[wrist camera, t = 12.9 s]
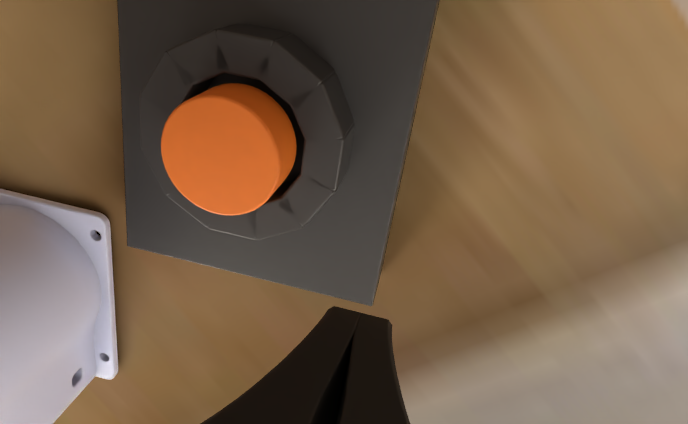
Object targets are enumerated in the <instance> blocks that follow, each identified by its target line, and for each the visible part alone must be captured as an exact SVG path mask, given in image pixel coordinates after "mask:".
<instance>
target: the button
mask: <svg viewBox="0 0 688 424" xmlns="http://www.w3.org/2000/svg"><path fill="white" fill-rule="evenodd" d="M296 147H297V146H296V137H295V132H294V129H293V126H292V123H291V121H290V119H289V117H288V116H287V114H286V113H285V111H284V110H283V108H282V107H281V106H280V105H279V104H278V103H277V102H276V101H275V100H274V99H273V98H272V97H271V96H269V95H268V94H267V93H265V92H263V91H261V90H260V89H258V88H255V87H253V86H250V85H246V84H240V83H226V84H221V85H218V86H215V87H213V88H211V89H209V90H206V91H204V92H202V93H200V94H198V95H196V96H194V97H192V98H190V99H188V100H186V101H184V102H183V103H181V104H180V105H179V106H178V107H176V108H175V109H174V110H173V112H172V113H171V114H170V116H169V117H168V119H167V121H166V123H165V126H164V128H163V132H162V137H161V154H162V159H163V163H164V166H165V169H166V171H167V173H168V176H169V177H170V179H171V181H172V183H173V184H174V185H175V187H176V188H177V189H178V190H179V191H180V192H181V194H182V195H183V196H185V197H186V198H187V199H188V200H189V201H191V202H192V203H193V204H195V205H196V206H198V207H200V208H202V209H204V210H206V211H209V212H212V213H215V214H220V215H231V216H232V215H241V214H246V213H249V212H251V211H254V210H256V209H257V208H259V207H260V206H262V205H263V204H264V203H265V202H266V201H267V200H268V199H269V198H270V197H271V196H272V195H273V193H274V192H275V191H276V190H277V189H278V187H279V186H280V185H281V184H282V183H283V181H284V180H285V179H286V178H287V176H288V175H289V173H290V171H291V169H292V167H293V165H294V162H295V157H296Z"/></svg>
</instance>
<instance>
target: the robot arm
mask: <svg viewBox="0 0 688 424" xmlns="http://www.w3.org/2000/svg"><path fill="white" fill-rule="evenodd" d="M96 231H97V232H99V233H100V235H101V236H99V235H98V234H97V233H96ZM106 354H107V355H106ZM117 373H118V353H117V335H116V318H115V300H114V282H113V265H112V247H111V229H110V222H109V220H108V218H107V217H106V216H105V215H104V214H102V213H100V212H96V211H92V210H88V209H83V208H79V207H75V206H71V205H67V204H63V203H58V202H54V201H50V200H46V199H42V198H38V197H33V196H29V195H25V194H21V193H17V192H13V191H8V190H4V189H0V424H53V423H54V422H55V421H56V420H57V419H58V417H59V416H60V415H61V414H62V413H63V412H64V411H65V410H66V408H67V407H68V406H69V405H70V404H71V403H72V402H73V401H74V399H75V398H76V397H77V396H78V395H79V394H80V393H81V392H82V391H83V389H84V388H85V387H86V386H87V385H88V384H89V383H90V382H91V380H92V379H93V378H94V377H95V376H97V377H101V378H104V379H113V378H114V377H115V376H116V374H117ZM201 424H410V422H409V419H408V416H407V412H406V409H405V405H404V402H403V398H402V394H401V390H400V385H399V381H398V377H397V372H396V367H395V361H394V355H393V347H392V324H391V323H390V322H389V320H387V319H383V318H379V317H375V316H371V315H367V314H363V313H359V312H355V311H351V310H347V309H343V308H339V307H335V306H334V307H332V308H330V309H328V311H327V312H326V314H325V315H324V316H323V318H322V319H321V320H320V321H319V323H318V324H317V325H316V326H315V327H314V328H313V330H312V331H311V332H310V333H309V334H308V335H307V336H306V337H305V338H304V340H303V341H302V342H301V343H300V344H299V345H298V346H297V347H296V348H295V349H294V350H293V351H292V352H291V353H290V354H289V355H288V356H287V357H286V358H285V359H284V360H282V361H281V362H280V363H279V364H278V365H277V366H276V367H275V368H274V369H272V370H271V371H270V372H269V373H268V374H267V375H265V376H264V377H263V378H262V379H261V380H260V381H259V382H257V383H256V384H255V385H254V386H253V387H251V388H250V389H249V390H248V391H246V392H245V393H244V394H242V395H241V396H240V397H239V398H237V399H236V400H235V401H233V402H232V403H230V404H229V405H228V406H226V407H225V408H223V409H222V410H221V411H219V412H218V413H216V414H215V415H213V416H212V417H210V418H208V419H207V420H205V421H204V422H202V423H201Z"/></svg>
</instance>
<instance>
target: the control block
mask: <svg viewBox="0 0 688 424" xmlns="http://www.w3.org/2000/svg"><path fill="white" fill-rule="evenodd" d="M117 2H118V26H119V51H120V76H121V100H122V125H123V149H124V174H125V198H126V223H127V245H128V246H129V247H133V248H137V249H141V250H146V251H150V252H154V253H158V254H162V255H166V256H170V257H174V258H178V259H182V260H186V261H190V262H194V263H198V264H202V265H207V266H211V267H215V268H219V269H223V270H227V271H231V272H235V273H239V274H243V275H247V276H251V277H255V278H259V279H263V280H267V281H272V282H276V283H280V284H284V285H288V286H292V287H296V288H300V289H304V290H308V291H312V292H316V293H320V294H324V295H328V296H332V297H337V298H341V299H345V300H349V301H353V302H357V303H361V304H365V305H369V306H372V305H373V302H374V298H375V294H376V290H377V287H378V283H379V279H380V275H381V270H382V266H383V261H384V257H385V252H386V247H387V243H388V238H389V233H390V229H391V224H392V219H393V215H394V210H395V205H396V201H397V196H398V191H399V187H400V182H401V177H402V173H403V168H404V163H405V159H406V154H407V149H408V145H409V140H410V135H411V131H412V126H413V121H414V117H415V112H416V107H417V103H418V98H419V93H420V89H421V84H422V80H423V75H424V70H425V66H426V61H427V56H428V52H429V47H430V42H431V38H432V33H433V28H434V24H435V19H436V14H437V10H438V5H439V0H117ZM226 83H240V84H246V85H250V86H253V87H255V88H258V89H260V90H261V91H263V92H265V93H267V94H268V95H269V96H271V97H272V98H273V99H274V100H275V101H276V102H277V103H278V104H279V105H280V106H281V107H282V108H283V110H284V111H285V113H286V114H287V116H288V117H289V119H290V121H291V123H292V126H293V129H294V132H295V137H296V146H297V147H296V157H295V162H294V165H293V167H292V169H291V171H290V173H289V175H288V176H287V178H286V179H285V180H284V181H283V183H282V184H281V185H280V186H279V187H278V189H277V190H276V191H275V192H274V193H273V195H272V196H271V197H270V198H269V199H268V200H267V201H266V202H265V203H264V204H263V205H262V206H260V207H259V208H257V209H256V210H254V211H251V212H249V213H246V214H241V215H232V216H231V215H220V214H215V213H212V212H209V211H206V210H204V209H202V208H200V207H198V206H196V205H195V204H193V203H192V202H191V201H189V200H188V199H187V198H186V197H185V196H183V195H182V194H181V192H180V191H179V190H178V189H177V188H176V187H175V185H174V184H173V183H172V181H171V179H170V177H169V176H168V173H167V171H166V169H165V166H164V163H163V159H162V154H161V137H162V132H163V128H164V126H165V123H166V121H167V119H168V117H169V116H170V114H171V113H172V112H173V110H174V109H175V108H176V107H178V106H179V105H180V104H181V103H183V102H184V101H186V100H188V99H190V98H192V97H194V96H196V95H198V94H200V93H202V92H204V91H206V90H209V89H211V88H213V87H215V86H218V85H221V84H226Z"/></svg>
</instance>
